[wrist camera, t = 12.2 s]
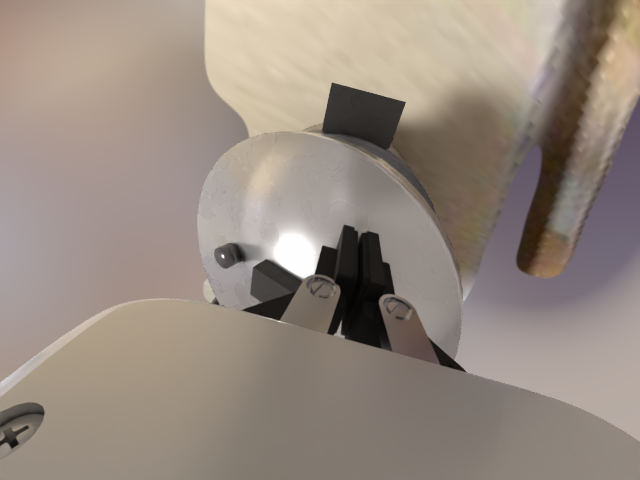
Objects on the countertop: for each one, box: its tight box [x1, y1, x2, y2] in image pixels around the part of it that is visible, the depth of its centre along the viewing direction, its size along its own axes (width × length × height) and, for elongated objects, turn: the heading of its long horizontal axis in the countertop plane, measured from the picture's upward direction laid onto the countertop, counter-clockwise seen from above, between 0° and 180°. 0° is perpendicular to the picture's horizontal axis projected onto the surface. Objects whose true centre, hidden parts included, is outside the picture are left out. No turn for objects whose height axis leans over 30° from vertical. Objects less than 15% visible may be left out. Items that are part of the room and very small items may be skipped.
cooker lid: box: [197, 132, 463, 360], centre depth 16 cm, size 19×19×3 cm
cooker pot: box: [301, 83, 436, 215], centre depth 26 cm, size 24×18×12 cm
